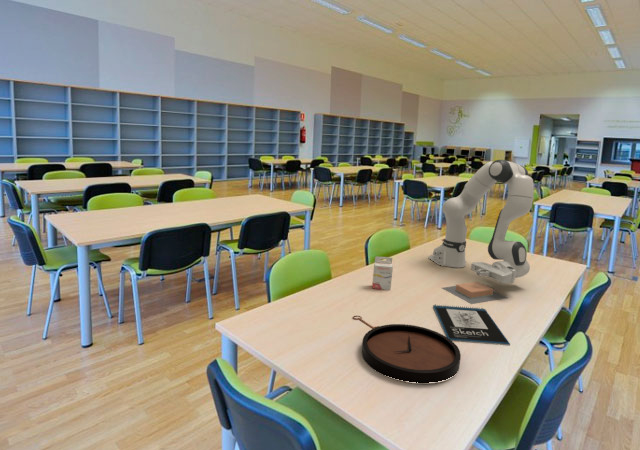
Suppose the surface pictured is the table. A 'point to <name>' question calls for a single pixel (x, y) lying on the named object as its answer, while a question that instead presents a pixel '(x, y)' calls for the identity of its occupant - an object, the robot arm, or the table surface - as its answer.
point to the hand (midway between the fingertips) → (478, 273)
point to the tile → (474, 289)
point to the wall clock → (410, 353)
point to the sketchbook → (469, 325)
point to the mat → (475, 300)
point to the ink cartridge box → (382, 273)
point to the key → (363, 321)
